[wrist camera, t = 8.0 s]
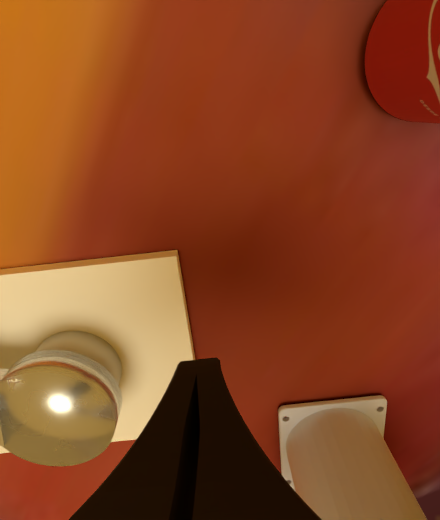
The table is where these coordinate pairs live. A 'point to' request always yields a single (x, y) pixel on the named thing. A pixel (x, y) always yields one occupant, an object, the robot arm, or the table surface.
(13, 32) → the table surface
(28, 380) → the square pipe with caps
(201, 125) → the table surface
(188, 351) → the base
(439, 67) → the beverage can
